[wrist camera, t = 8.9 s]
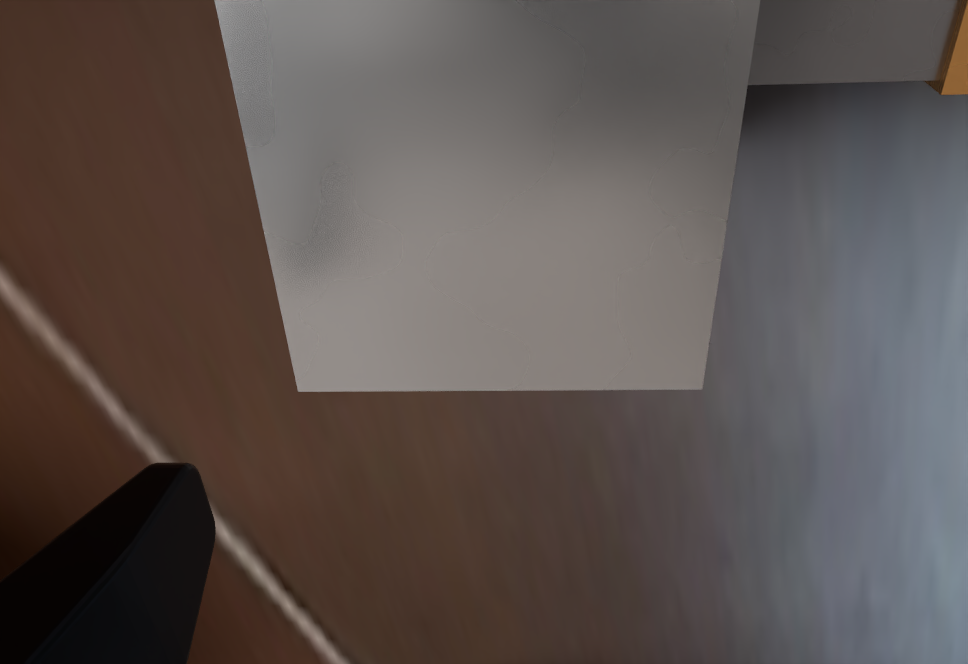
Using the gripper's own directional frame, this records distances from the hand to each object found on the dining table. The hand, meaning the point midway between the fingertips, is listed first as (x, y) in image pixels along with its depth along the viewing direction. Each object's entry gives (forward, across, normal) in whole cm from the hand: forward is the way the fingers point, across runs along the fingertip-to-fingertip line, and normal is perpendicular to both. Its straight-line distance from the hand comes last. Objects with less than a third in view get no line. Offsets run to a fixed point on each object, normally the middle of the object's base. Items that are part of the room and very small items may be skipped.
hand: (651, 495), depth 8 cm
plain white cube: (+8, +2, -2) cm, 9 cm away
